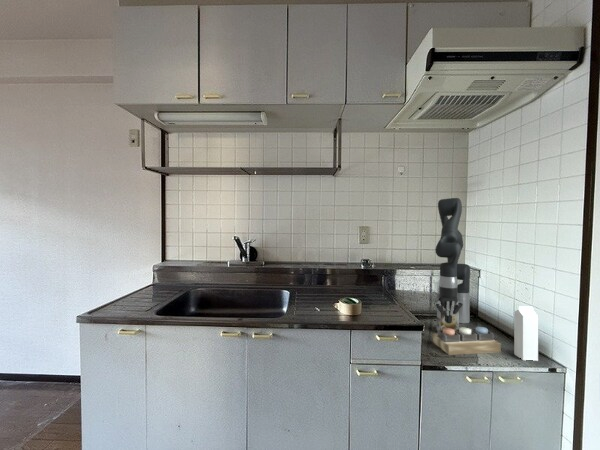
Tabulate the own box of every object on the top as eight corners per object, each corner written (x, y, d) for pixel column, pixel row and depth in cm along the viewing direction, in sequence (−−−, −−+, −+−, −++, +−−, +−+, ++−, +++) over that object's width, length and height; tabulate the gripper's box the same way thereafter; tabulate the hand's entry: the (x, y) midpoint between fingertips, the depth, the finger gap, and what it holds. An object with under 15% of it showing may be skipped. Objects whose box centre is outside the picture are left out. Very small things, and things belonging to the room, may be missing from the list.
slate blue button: (473, 332, 142) (473, 326, 142) (483, 331, 143) (483, 326, 143) (480, 336, 137) (480, 330, 137) (490, 335, 138) (490, 330, 138)
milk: (514, 354, 132) (513, 304, 131) (528, 354, 131) (528, 304, 131) (523, 360, 126) (522, 308, 125) (538, 361, 125) (538, 308, 125)
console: (432, 341, 146) (432, 327, 146) (479, 339, 147) (479, 325, 147) (448, 354, 132) (448, 338, 132) (500, 352, 133) (500, 336, 133)
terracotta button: (440, 333, 141) (440, 328, 141) (450, 332, 142) (450, 327, 142) (446, 337, 136) (446, 332, 136) (456, 337, 137) (456, 331, 137)
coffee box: (440, 334, 155) (440, 303, 155) (436, 329, 161) (436, 300, 161) (459, 334, 154) (459, 303, 154) (454, 330, 160) (454, 300, 160)
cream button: (456, 332, 142) (456, 327, 142) (467, 332, 142) (466, 327, 142) (463, 336, 137) (463, 331, 137) (473, 336, 137) (473, 331, 137)
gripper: (457, 283, 143) (457, 320, 143) (430, 284, 142) (430, 320, 142) (467, 287, 135) (467, 325, 135) (438, 287, 134) (438, 326, 135)
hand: (448, 322), depth 139 cm, fingers closed
